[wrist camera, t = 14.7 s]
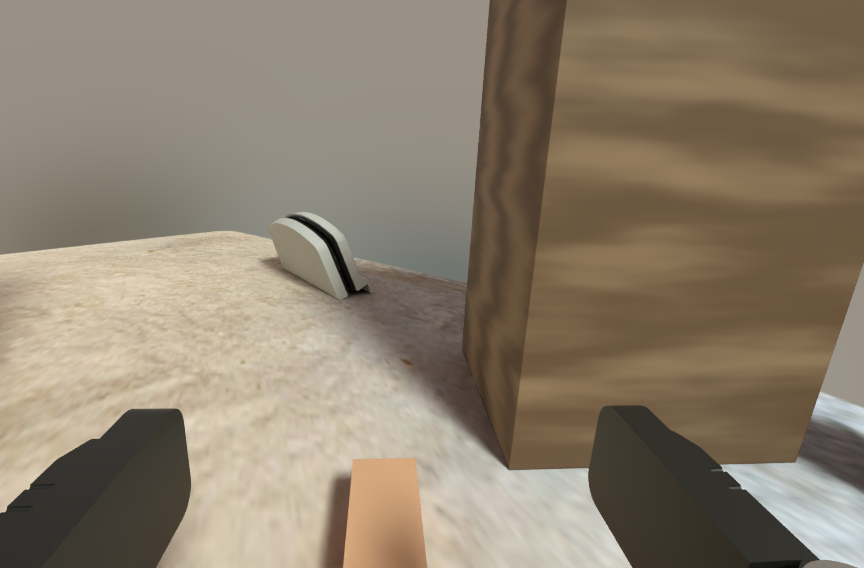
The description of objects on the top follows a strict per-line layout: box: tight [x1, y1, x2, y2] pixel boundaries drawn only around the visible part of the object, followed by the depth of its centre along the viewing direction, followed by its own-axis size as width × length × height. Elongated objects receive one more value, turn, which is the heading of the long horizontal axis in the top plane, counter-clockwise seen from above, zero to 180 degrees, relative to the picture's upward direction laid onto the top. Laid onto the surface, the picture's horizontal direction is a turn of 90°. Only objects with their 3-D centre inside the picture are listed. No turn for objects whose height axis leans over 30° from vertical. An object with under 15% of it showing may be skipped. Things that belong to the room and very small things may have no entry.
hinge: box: [268, 212, 374, 299], centre depth 57 cm, size 17×5×10 cm, turn 40°
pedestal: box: [462, 0, 864, 470], centre depth 29 cm, size 16×18×32 cm
